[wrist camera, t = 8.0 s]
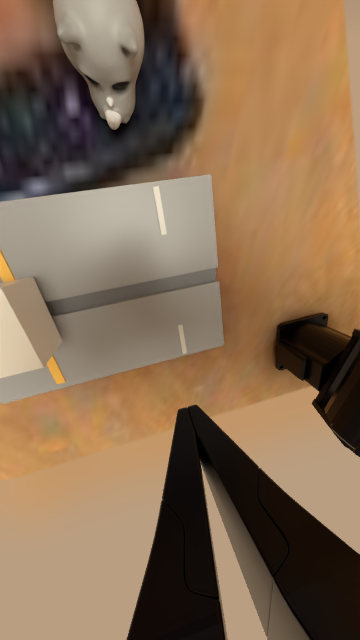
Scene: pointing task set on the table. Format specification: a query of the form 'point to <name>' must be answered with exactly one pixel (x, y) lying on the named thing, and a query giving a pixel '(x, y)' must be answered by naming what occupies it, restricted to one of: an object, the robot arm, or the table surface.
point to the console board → (116, 277)
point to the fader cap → (25, 328)
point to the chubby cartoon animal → (104, 51)
